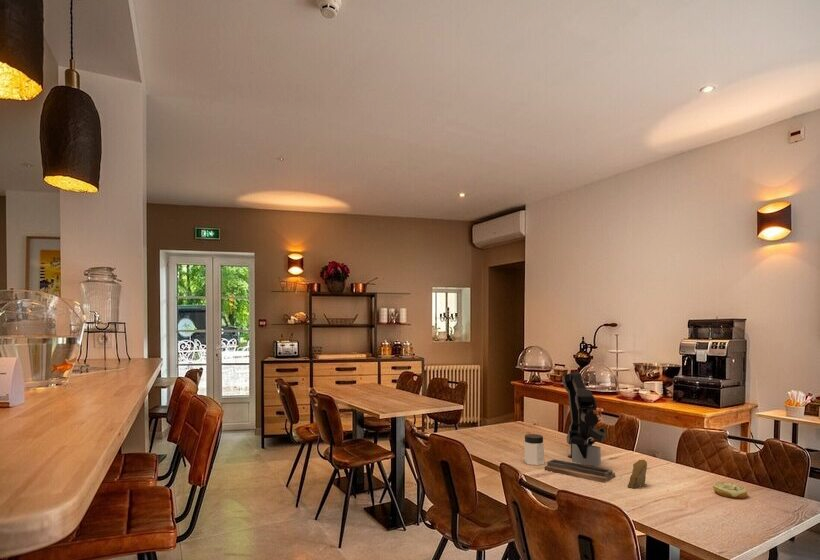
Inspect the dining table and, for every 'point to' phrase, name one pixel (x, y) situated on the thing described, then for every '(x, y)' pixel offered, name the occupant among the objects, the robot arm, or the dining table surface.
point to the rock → (638, 474)
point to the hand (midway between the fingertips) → (586, 457)
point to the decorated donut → (730, 490)
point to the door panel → (592, 455)
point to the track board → (579, 470)
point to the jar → (534, 449)
